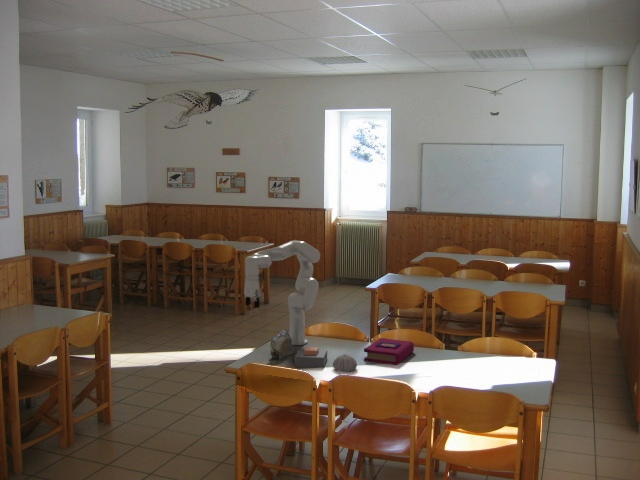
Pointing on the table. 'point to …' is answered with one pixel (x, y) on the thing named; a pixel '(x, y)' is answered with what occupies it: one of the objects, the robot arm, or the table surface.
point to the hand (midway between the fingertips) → (252, 306)
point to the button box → (311, 359)
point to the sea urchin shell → (344, 363)
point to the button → (311, 351)
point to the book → (388, 351)
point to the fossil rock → (281, 345)
